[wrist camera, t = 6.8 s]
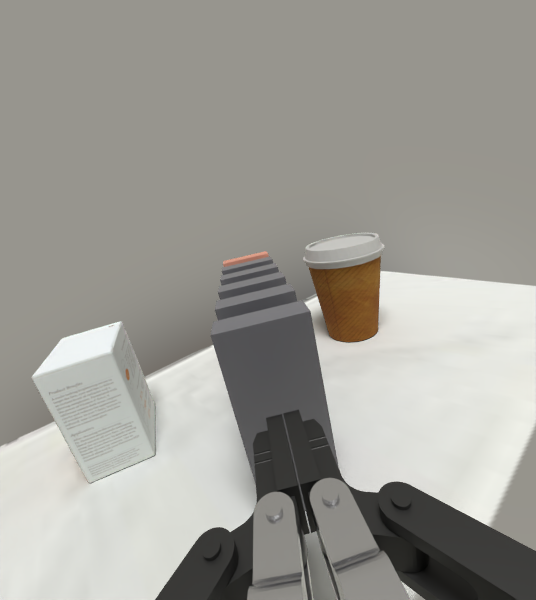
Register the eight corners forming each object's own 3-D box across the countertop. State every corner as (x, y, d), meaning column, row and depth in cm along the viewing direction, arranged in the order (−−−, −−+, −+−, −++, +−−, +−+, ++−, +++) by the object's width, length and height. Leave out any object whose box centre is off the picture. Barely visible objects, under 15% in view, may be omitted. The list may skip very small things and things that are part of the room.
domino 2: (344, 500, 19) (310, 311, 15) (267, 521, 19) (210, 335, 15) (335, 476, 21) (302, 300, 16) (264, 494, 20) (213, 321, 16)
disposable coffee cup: (359, 310, 45) (349, 231, 42) (409, 330, 37) (402, 232, 33) (304, 331, 43) (288, 248, 39) (343, 358, 34) (328, 255, 30)
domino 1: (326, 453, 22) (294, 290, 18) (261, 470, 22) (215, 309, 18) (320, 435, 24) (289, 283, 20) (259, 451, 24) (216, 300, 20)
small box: (102, 426, 32) (60, 337, 28) (156, 405, 33) (122, 319, 30) (86, 487, 24) (26, 377, 21) (156, 457, 26) (111, 349, 23)
